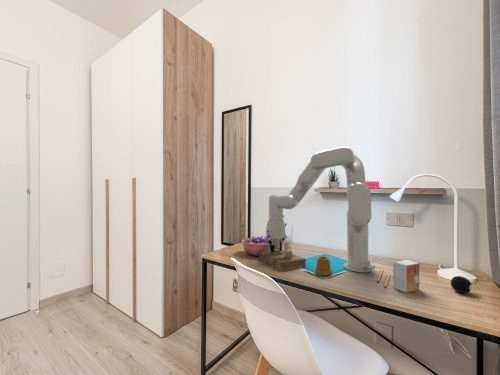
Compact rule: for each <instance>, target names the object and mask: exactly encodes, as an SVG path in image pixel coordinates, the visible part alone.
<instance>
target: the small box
mask: <svg viewBox="0 0 500 375" xmlns="http://www.w3.org/2000/svg"><path fill="white" fill-rule="evenodd" d="M392 268H393V269H392V288H393V289H395V290H397V291H398V290H399V291H401V292H404V293H411V292H415V291H419V290H420V263H419V262H416V261H413V260H408V259H403V260H398V261H393V262H392Z"/></svg>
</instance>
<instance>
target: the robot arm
mask: <svg viewBox="0 0 500 375" xmlns="http://www.w3.org/2000/svg"><path fill="white" fill-rule="evenodd" d="M338 166H341V167H343V169H344V170H345V177H346V196H347V200H348V201H347V202H348V204H347V205H348V209H347V211H346V223H347V225H346V228H347V229H346V232H347V234H346V241H347V242H346V248H347V249H346V258H347V259H346V262H344V264H343V267H345V268H344V269H346V270H348V271H351V272H356V273H370V272H372V271H375V268H376V265H375V264H371V260H369V223H370V222H371V220H372V198H371V196H372V195H371V190H370V188H369V186H368V185H367V184H366V174H365V173H366V171H365V167H364V164H363V161H362V160H361V159H360V157H358V156H357V155H356V154H354V151H353V150H352V149H351V148H350V147H348V146H340V147H335V148H332V149H331V148H330V149H326V150H322V151H318V152H315V153H314V154H312V156H311V158H310V161H309V163H308V164H307V165H306V167H305V168H304V169H303V171H302V172H301V173H300V175H299V176H298V178H297V180H296V181H297V182H296V183H295V184H294V187H293V188H292V189H291V191H290V192H289V193H288V194H287V195H279V194H277V195H276V194H275V195H274V194H272V195H271V194H270V196H269V197H268V198H269V199H268V220H267V222H266V229H265V236H264V237H265V240H266V241H267V242H268V243H269V244H270V251H271V252H274V245H273V244H274V239H278V238H279V239H280V251H282V250H283V244H284V242H285V240H286V239H287V238H288V236H287V234H286V226H285V220H284V218H285V215H284V213H283V212H284V209H285V210H292V209H295V208H296V207H297V206H298V205H299V204H300V202H301V201H302V200H303V198H304V197H305V196H306V194H307V193H308V191H309V190H310V189H312V187H313V186H314V184H315V183H316V182H317V180H318V179H319V178H320V176H322V174H323V173H324V172H325V171H326V169H328V168H334V167H338ZM271 241H272V242H271Z"/></svg>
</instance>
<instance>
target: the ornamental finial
mask: <svg viewBox="0 0 500 375" xmlns="http://www.w3.org/2000/svg"><path fill="white" fill-rule="evenodd" d="M316 259H317V260H316V267H315V270H314V271H315V274H317V275H318V274H319V275H318V276H321V275H324V276H323V277H330V276H331V275H332V274H333V270H332V269H331V260H330V258H328V257H327V255H320V256H319V257H318V258H316Z"/></svg>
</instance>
